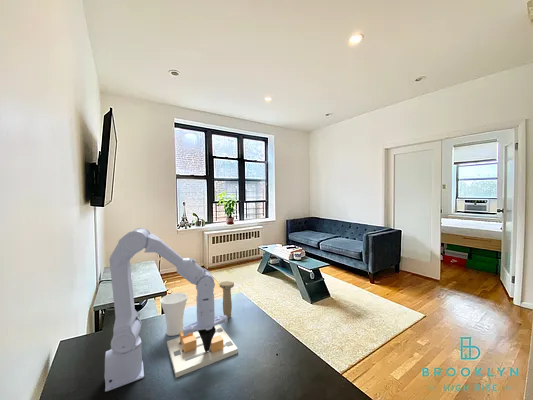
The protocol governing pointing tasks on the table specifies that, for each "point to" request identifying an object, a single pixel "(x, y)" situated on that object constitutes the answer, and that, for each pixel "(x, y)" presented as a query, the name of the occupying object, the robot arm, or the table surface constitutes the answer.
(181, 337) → the tab far
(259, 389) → the table surface
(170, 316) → the cup
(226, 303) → the handle
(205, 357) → the switch board
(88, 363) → the table surface
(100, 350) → the table surface
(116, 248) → the robot arm
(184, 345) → the tab middle
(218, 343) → the orange block
